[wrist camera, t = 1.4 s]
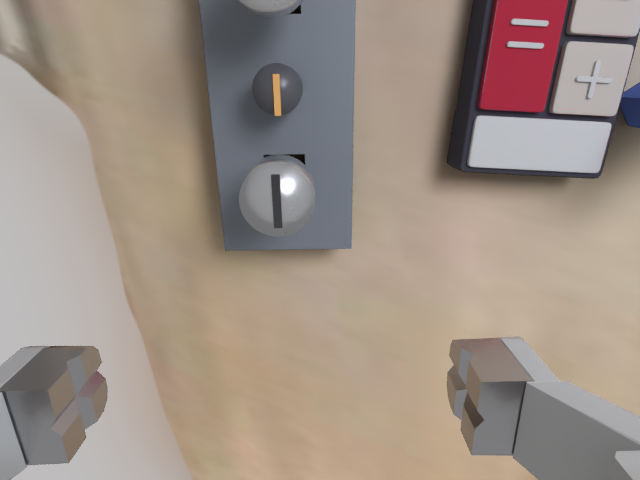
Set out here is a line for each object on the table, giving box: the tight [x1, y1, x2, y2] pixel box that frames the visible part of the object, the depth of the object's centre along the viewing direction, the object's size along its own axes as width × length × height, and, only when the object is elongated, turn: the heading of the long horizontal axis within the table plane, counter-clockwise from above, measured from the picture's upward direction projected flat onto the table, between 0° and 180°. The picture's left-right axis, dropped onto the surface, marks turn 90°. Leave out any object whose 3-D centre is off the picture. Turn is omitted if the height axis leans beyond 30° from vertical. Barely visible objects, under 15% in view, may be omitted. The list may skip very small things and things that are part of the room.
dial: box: [252, 63, 303, 116], centre depth 27 cm, size 3×3×4 cm
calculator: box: [447, 0, 640, 178], centre depth 30 cm, size 11×4×15 cm
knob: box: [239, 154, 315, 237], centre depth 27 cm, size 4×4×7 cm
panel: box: [199, 0, 356, 251], centre depth 30 cm, size 24×10×4 cm, turn 1°
